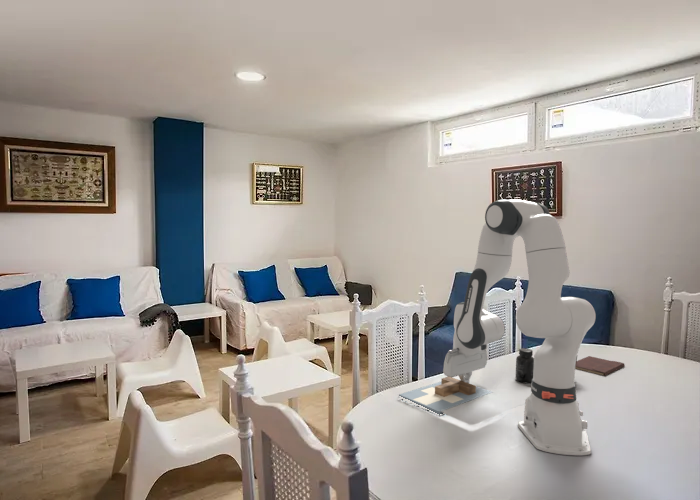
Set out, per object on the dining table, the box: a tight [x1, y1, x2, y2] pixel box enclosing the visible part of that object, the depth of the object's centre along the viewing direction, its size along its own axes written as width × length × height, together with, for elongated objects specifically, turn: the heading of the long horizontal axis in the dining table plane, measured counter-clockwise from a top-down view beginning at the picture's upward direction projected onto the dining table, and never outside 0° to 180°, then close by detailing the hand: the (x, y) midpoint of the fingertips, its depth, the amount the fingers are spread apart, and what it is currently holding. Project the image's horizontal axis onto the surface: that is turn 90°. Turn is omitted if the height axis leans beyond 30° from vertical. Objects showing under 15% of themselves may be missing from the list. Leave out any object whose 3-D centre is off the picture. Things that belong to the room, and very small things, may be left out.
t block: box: [435, 376, 477, 397], centre depth 163 cm, size 12×12×2 cm
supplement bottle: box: [515, 347, 534, 384], centre depth 179 cm, size 7×7×12 cm
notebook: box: [575, 355, 626, 377], centre depth 197 cm, size 15×20×2 cm
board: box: [398, 381, 493, 415], centre depth 161 cm, size 28×18×2 cm, turn 128°
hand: (464, 384), depth 167 cm, fingers closed
